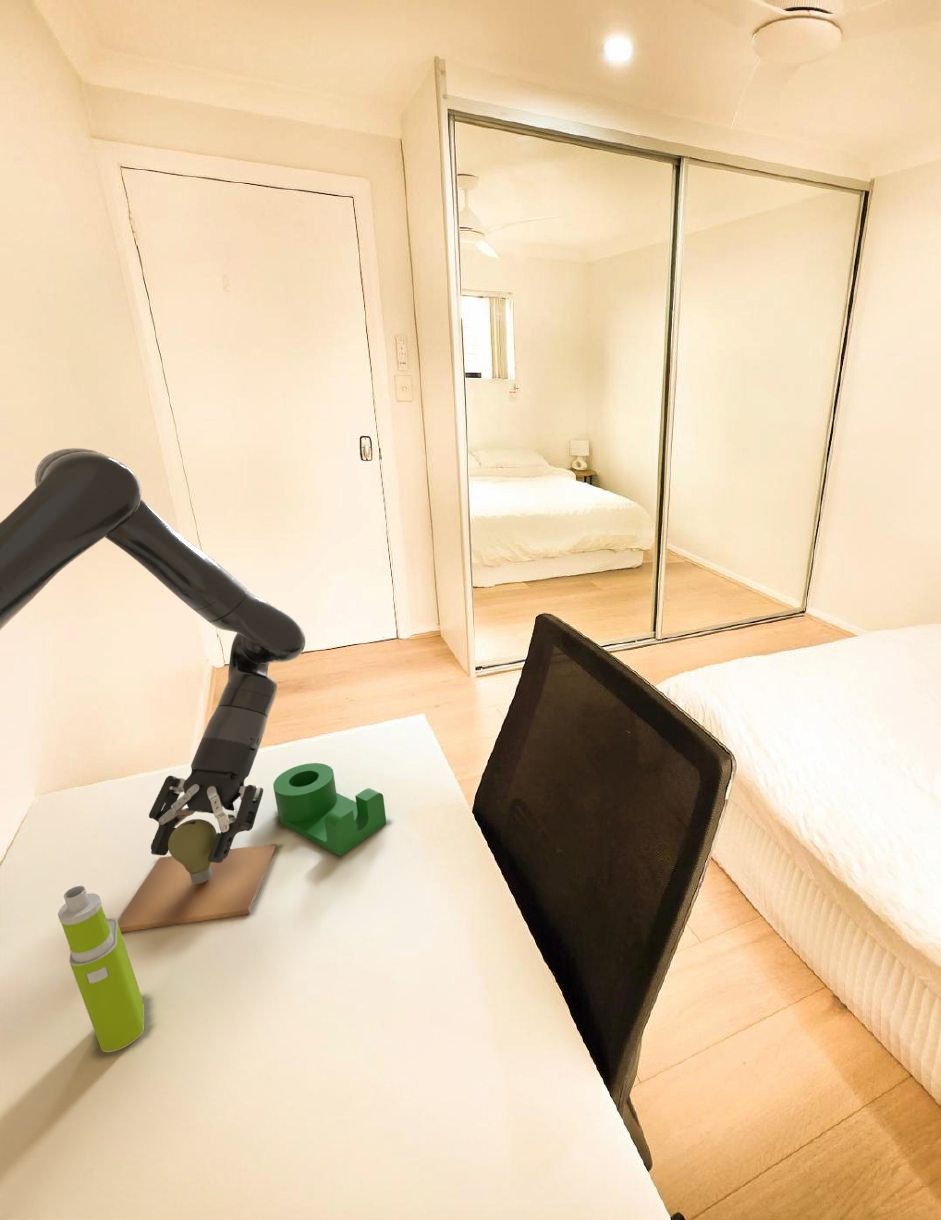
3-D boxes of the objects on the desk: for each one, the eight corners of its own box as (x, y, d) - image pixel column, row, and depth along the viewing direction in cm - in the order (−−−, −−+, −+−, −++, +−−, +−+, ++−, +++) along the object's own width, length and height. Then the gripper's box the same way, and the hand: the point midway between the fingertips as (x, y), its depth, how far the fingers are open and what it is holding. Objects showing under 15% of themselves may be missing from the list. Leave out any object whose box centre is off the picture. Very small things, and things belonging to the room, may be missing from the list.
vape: (100, 1059, 63) (46, 914, 57) (103, 1014, 68) (54, 874, 61) (144, 1039, 65) (97, 896, 59) (144, 996, 70) (100, 859, 63)
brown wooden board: (113, 933, 78) (112, 928, 78) (160, 861, 90) (159, 857, 90) (249, 914, 81) (248, 909, 81) (277, 847, 93) (276, 843, 93)
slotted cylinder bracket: (267, 816, 100) (261, 784, 98) (315, 788, 107) (310, 757, 105) (339, 856, 92) (334, 821, 90) (386, 822, 99) (382, 790, 97)
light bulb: (220, 860, 89) (207, 805, 86) (230, 881, 86) (217, 824, 82) (175, 880, 86) (160, 822, 82) (184, 902, 82) (168, 843, 78)
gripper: (169, 731, 87) (117, 850, 80) (260, 740, 85) (215, 863, 78) (204, 743, 93) (159, 854, 86) (289, 752, 92) (250, 866, 85)
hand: (186, 858), depth 82 cm, fingers open, 8 cm apart
